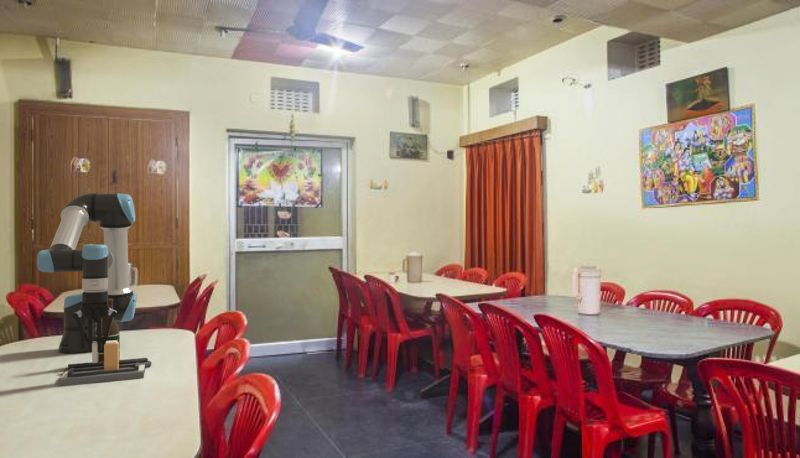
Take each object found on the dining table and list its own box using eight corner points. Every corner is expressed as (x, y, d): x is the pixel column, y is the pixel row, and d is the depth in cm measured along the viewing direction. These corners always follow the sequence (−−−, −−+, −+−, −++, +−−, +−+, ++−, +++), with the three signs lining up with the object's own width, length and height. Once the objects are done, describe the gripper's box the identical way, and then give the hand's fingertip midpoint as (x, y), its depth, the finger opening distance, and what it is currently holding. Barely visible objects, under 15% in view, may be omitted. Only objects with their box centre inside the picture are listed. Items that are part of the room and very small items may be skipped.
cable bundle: (63, 375, 184) (63, 365, 184) (65, 372, 188) (65, 363, 188) (151, 367, 195) (151, 358, 195) (151, 365, 198) (151, 356, 198)
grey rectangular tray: (66, 376, 183) (66, 366, 183) (145, 369, 192) (145, 359, 192) (59, 386, 172) (59, 375, 172) (143, 377, 181) (143, 367, 181)
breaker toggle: (105, 369, 184) (105, 340, 184) (118, 368, 185) (118, 339, 185) (104, 372, 180) (104, 343, 180) (117, 370, 181) (117, 342, 181)
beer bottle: (109, 367, 195) (109, 300, 195) (90, 366, 197) (90, 299, 197) (124, 361, 203) (124, 297, 203) (106, 361, 204) (106, 297, 204)
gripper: (70, 292, 175) (70, 366, 175) (116, 291, 180) (116, 362, 180) (74, 290, 182) (74, 361, 182) (118, 288, 187) (118, 357, 187)
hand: (95, 361), depth 181 cm, fingers closed
